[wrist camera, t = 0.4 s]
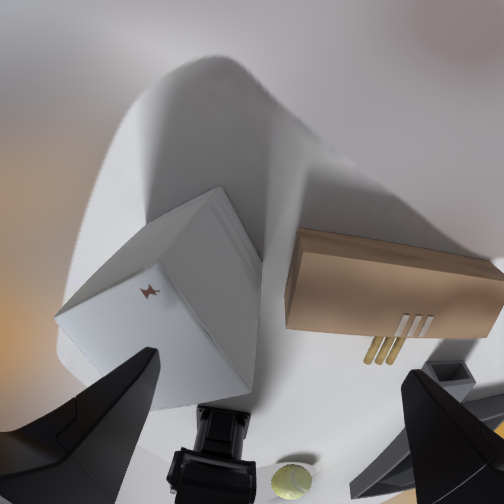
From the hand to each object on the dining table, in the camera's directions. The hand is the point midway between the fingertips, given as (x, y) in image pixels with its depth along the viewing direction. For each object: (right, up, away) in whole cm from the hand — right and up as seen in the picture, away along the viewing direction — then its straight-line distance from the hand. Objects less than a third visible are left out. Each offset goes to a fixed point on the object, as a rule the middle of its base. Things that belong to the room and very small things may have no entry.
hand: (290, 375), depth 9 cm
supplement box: (-5, +5, +14) cm, 16 cm away
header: (+11, 0, +15) cm, 19 cm away
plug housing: (+21, -11, +19) cm, 30 cm away
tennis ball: (+5, -32, +29) cm, 44 cm away
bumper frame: (+30, -32, +27) cm, 52 cm away
